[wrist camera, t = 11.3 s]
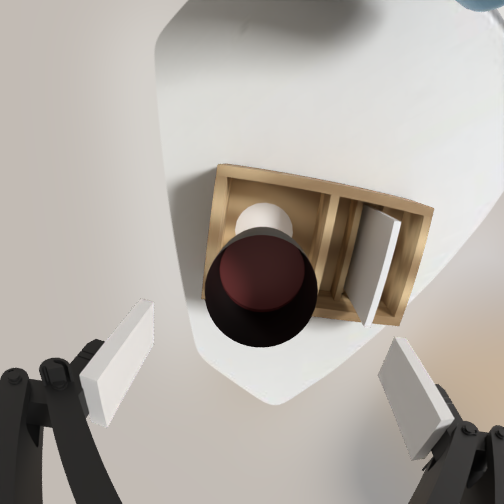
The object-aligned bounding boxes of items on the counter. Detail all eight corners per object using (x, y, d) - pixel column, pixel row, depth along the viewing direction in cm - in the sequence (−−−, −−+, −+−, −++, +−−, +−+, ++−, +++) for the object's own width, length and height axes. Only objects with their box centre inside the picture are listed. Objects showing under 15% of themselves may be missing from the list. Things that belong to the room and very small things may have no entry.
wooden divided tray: (225, 163, 40) (217, 164, 33) (410, 200, 40) (434, 208, 33) (211, 277, 44) (201, 298, 38) (383, 303, 44) (399, 326, 38)
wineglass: (231, 260, 42) (204, 342, 23) (235, 196, 40) (205, 230, 21) (291, 265, 42) (308, 350, 23) (297, 200, 40) (325, 239, 20)
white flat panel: (363, 204, 39) (394, 220, 29) (368, 205, 39) (401, 221, 29) (343, 287, 43) (364, 326, 32) (348, 288, 43) (370, 327, 32)
